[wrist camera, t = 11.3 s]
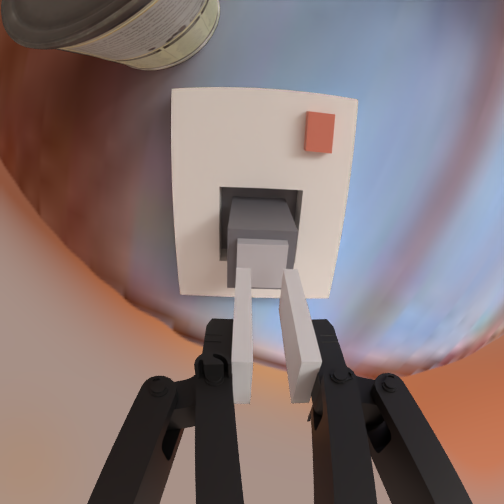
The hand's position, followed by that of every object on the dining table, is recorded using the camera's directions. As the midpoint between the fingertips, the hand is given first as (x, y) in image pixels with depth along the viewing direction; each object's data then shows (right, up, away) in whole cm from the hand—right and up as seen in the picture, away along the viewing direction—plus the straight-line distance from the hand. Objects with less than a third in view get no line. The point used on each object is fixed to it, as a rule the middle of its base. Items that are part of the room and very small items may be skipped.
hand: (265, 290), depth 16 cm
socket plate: (0, +7, +9) cm, 12 cm away
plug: (0, +5, +10) cm, 11 cm away
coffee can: (-8, +22, +2) cm, 23 cm away
